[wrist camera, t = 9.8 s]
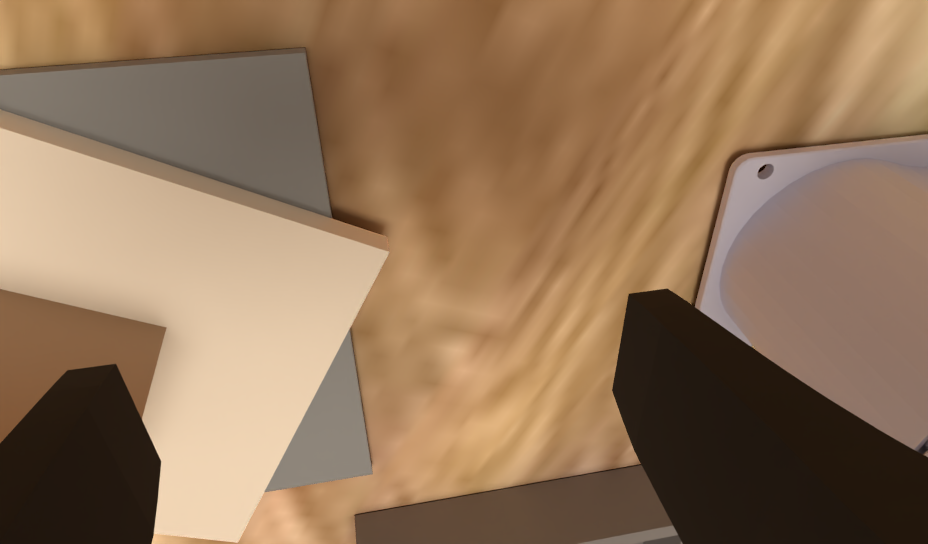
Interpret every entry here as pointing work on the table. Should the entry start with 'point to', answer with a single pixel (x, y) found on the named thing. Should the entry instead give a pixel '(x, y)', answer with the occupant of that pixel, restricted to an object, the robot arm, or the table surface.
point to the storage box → (533, 515)
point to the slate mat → (219, 178)
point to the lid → (173, 309)
